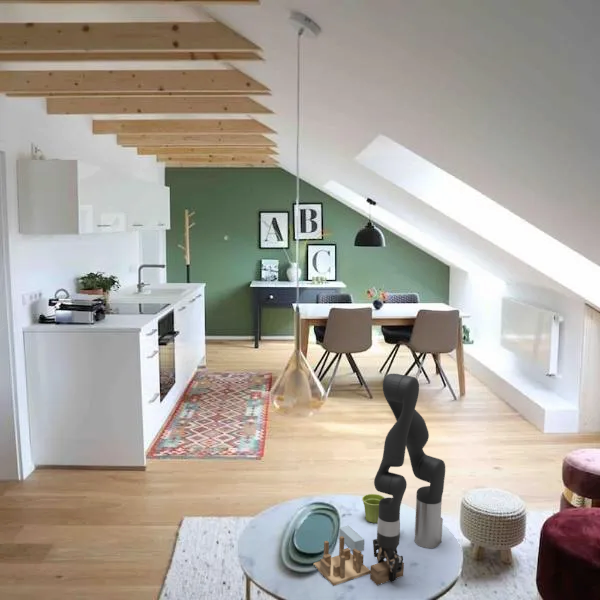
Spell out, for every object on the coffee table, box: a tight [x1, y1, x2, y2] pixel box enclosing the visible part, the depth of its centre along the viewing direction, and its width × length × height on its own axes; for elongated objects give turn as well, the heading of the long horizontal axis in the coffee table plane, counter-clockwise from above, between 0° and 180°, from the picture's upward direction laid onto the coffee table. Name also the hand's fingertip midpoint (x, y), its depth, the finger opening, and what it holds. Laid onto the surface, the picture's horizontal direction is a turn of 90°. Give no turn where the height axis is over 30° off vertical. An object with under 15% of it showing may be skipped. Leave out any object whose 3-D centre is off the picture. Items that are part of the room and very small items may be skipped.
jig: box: [313, 536, 370, 587], centre depth 215 cm, size 15×13×8 cm
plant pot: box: [361, 493, 385, 524], centre depth 249 cm, size 9×9×9 cm
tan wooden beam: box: [369, 559, 405, 586], centre depth 211 cm, size 11×4×5 cm, turn 119°
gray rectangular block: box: [338, 524, 365, 552], centre depth 231 cm, size 4×11×4 cm, turn 27°
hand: (386, 575), depth 211 cm, fingers open, 5 cm apart
